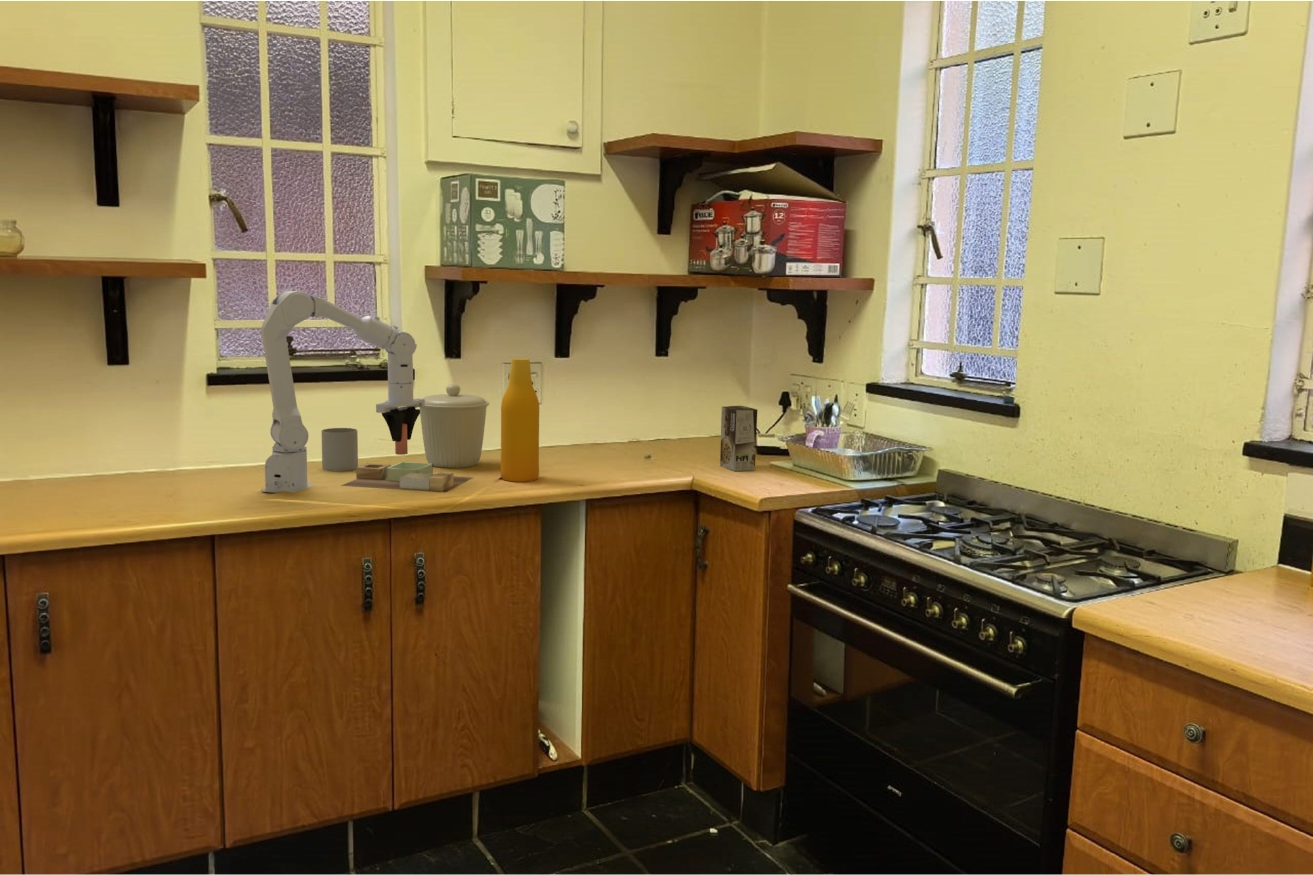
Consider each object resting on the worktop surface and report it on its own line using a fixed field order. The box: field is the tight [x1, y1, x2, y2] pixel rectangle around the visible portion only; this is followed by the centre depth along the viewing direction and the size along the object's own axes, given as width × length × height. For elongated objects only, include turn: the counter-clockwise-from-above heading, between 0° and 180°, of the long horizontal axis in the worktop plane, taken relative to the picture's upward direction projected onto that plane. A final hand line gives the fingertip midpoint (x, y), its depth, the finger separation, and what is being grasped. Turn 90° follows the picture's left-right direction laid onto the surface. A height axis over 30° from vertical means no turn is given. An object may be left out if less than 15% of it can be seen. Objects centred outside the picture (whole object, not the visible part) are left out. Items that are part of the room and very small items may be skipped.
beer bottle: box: [500, 357, 540, 483], centre depth 251 cm, size 9×9×29 cm
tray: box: [385, 461, 434, 481], centre depth 247 cm, size 9×8×3 cm
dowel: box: [394, 424, 409, 456], centre depth 246 cm, size 3×3×7 cm
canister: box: [419, 383, 490, 469], centre depth 266 cm, size 18×18×21 cm
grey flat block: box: [400, 473, 437, 490], centre depth 237 cm, size 6×7×2 cm
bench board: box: [340, 463, 474, 493], centre depth 243 cm, size 18×26×4 cm
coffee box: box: [719, 405, 759, 472], centre depth 274 cm, size 9×6×16 cm
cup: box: [321, 427, 359, 472], centre depth 257 cm, size 8×8×10 cm
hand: (401, 440), depth 246 cm, fingers closed on dowel, 3 cm apart
